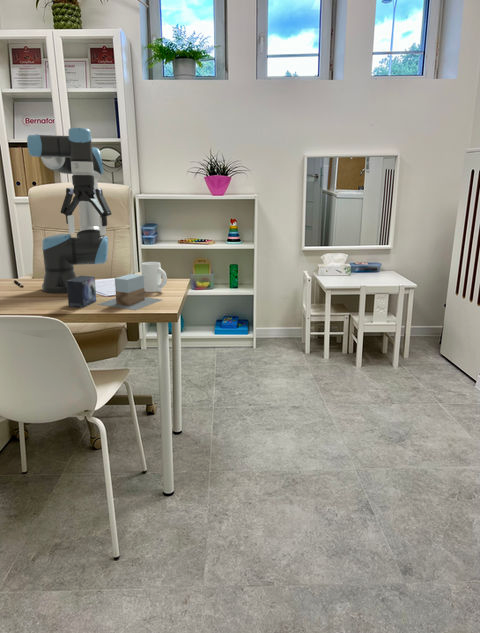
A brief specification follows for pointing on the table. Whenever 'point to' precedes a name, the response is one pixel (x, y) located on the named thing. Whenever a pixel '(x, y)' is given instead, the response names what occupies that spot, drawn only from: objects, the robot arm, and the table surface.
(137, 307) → the mat
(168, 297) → the table surface
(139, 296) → the block bottom
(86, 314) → the table surface
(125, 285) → the block top
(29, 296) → the table surface
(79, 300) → the small box
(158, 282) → the mug
